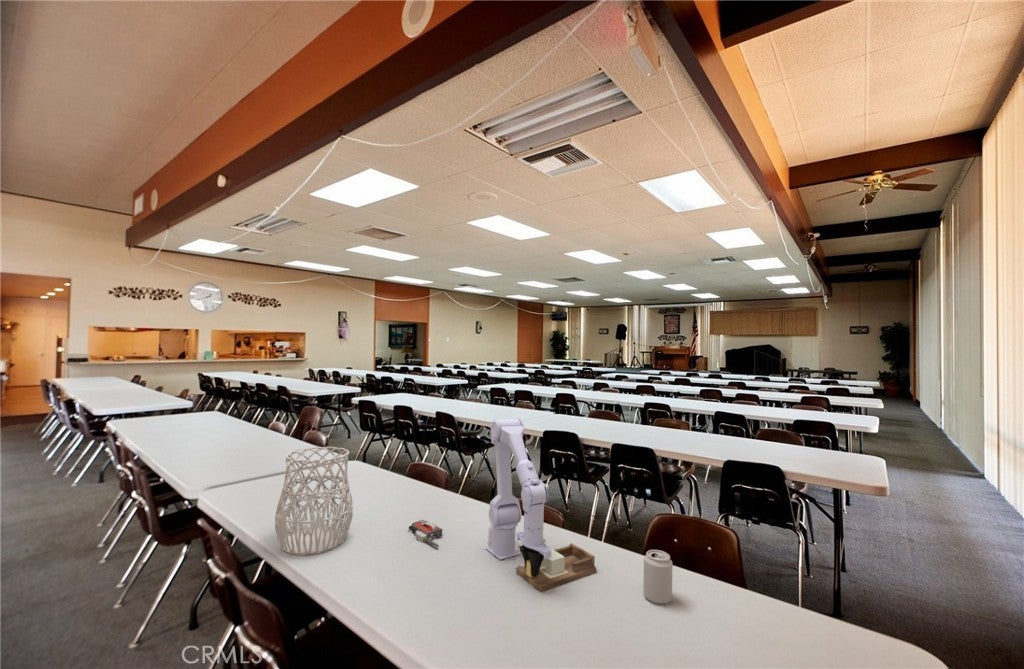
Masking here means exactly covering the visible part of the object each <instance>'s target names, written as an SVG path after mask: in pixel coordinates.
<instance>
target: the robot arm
mask: <svg viewBox="0 0 1024 669" xmlns="http://www.w3.org/2000/svg"><path fill="white" fill-rule="evenodd" d="M524 427H525V426H524V422H523V421H522V419H521V418H519V417H517V418H504V419H502V418H501V419H498V418H497V419H494V420H493V421H492V423H491V425H490V440H491V444H492V445H494V448H495V467H496V468H495V469H496V471H495V472H496V491H497V494H496V495H495V497H493V498H492V500H490V502H489V510H488V519H489V520H488V521H489V523H490V525H489V527H488V537H487V538H488V542H487V546H485V550H487V551H488V552H489V553H491V555H493V556H494V557H496V558H498V560H501V561H502V560H505V559H509V558H512V557H516V556H519V555H522V559H523V562H524V566H525V568H526V567H527V560H530V565H531V575H532V576H536V575H538V574H539V570H540V567H541V564H542V561H543V559H544V558H545V559H547V558H550V557H551V550H550V548H549V546H548V545H547V544H546V538H544V519H545V518H544V515H545V512H544V510H545V504H546V503H548V500H549V492H548V491H549V490H548V487H547V485H546V484H545V483H544V482H543V480H542V479H540V478H539V475H538V473H537V470H536V467H535V465H534V462H533V461H531V460H529V458H528V453H527V450H526V447H525V446H526V445H525V442H524V439H523V437H524V434H525V433H524V432H525V428H524ZM511 452H512V454H513V456H514V459H515V461H516V463H517V465H516V468H515V472H516V475H517V477H518V480H519V483H520V486H521V492H520V497H521V498H520V499H521V501H522V510H523V512H524V514H523V513H522V510H521V504H520V500H519V499H518V498H517V497H516V496H514V495H513V484H512V480H513V479H512V466H511V465H512V464H511ZM522 514H523V515H522ZM522 516H523V531H520V532H516V529H517V527H518V523H520V522H521V520H522ZM516 540H517V541H520V542H521V544H522V545H520V546H519V550H517V549H516Z"/></svg>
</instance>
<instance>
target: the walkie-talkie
mask: <svg viewBox="0 0 1024 669" xmlns="http://www.w3.org/2000/svg"><path fill="white" fill-rule="evenodd" d="M408 529H409V530H410V531H412V532H411V533H413V534H414V533H415V534H414V535H415V539H416V540H417V541H420V542H421V543H427V544H429V545H431V546H435V547H436V548H439V547H440V545H439V544H438V543H437V542H434V541H433V540H436V539H438V538H441V537H443V528H441V527H439V526H438V525H436V524H435V523H433V522H431V521H427V520H426V519H425V520H424V519H421V520H418V521H414V522H412V523H411V525H409V526H408Z"/></svg>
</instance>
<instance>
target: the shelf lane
mask: <svg viewBox="0 0 1024 669" xmlns="http://www.w3.org/2000/svg"><path fill="white" fill-rule="evenodd" d="M553 550H554V551H556V552H558V553H559V554H561V555H562V556H564V557H565V569H564V571H562V572H559V573H556V574H553V575H551V574H549V573H548V572H547V571H545V570H544V569H542V570H539V575H536V576H533V577H529V576H528V575H526V568H525V565H522V566H518V567H516V568H515V570H516V571H515V573H516V575H518V576H519V577H521V578H522V579H523V580H524V581H525V582H527V583H528V584H529V585H531V586H532V587H533V588H535V589H536V590H537V591H538V592H540V593H543V592H545V591H548V590H550V589H554V588H556V587H559V586H561V585H564V584H567V583H570V582H573V581H576V580H578V579H582V578H584V577H587V576H590V575H592V574H595V573H597V566H595V562H596V561H595V557H596V556H595V555H593V554H591V552H590V553H589V552H588V551H587V550H584V549H583V548H581V547H579V546H577V545H576V544H574V543H572V542H571V543H569V545H567V546H563V547H559V548H557V549H553Z"/></svg>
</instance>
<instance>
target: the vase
mask: <svg viewBox="0 0 1024 669" xmlns="http://www.w3.org/2000/svg"><path fill="white" fill-rule="evenodd" d="M329 449H330V450H329ZM322 450H324V451H327V452H325V453H324V454H323V455H322V454H321V453H320V451H322ZM307 451H310V452H312V453H311V454H310V455H309V456H307V455H305V454H304V453H306V452H307ZM333 451H338V452H339V453H338V454H337V455H336V454H335V453H334V452H333ZM294 454H298V455H297V457H296V458H294V457H293V456H294ZM315 454H316V455H318V456H319V457H320V458H319V459H311V457H312V456H313V455H315ZM329 454H331V456H333V457H330V458H329V459H328V458H326V456H327V455H329ZM349 454H350V451H349V449H346V448H344V447H336V446H323V447H322V446H316V447H307V448H298V449H296V450H294V451H290V452H287V453H286V454H285V464H286V466H285V474H284V482H283V486H282V490H281V494H280V497H279V500H278V503H277V506H276V511H275V515H274V529H275V532H276V533H275V534H276V538H277V541H278V543H279V545H280V549H281V550H282V551H283V552H285V553H286V554H289V555H296V556H297V555H298V556H308V555H317V554H321V553H325V552H327V550H328V551H331V550H333V548H334V549H336V548H337V547H338V545H339V546H340V545H342V544H344V542H345V539H346V537H347V535H348V532H349V530H350V526H351V523H352V520H353V515H354V514H353V512H354V503H353V502H354V501H353V496H352V493H351V489H350V484H349V482H350V481H349V476H348V475H349V474H348V463H349ZM301 456H302V457H303V458H305V459H299V458H300V457H301ZM342 459H343V461H342V462H341V463H340V460H342ZM329 462H330V463H329ZM299 464H300V465H299ZM310 464H311V465H312V468H310V467H309V466H308V465H310ZM325 464H326V465H327V466H326V465H325ZM295 465H296V466H295ZM335 465H337V466H338V467H339V468H338V470H336V471H337V472H336V474H335V473H334V471H333V470H332V467H334V466H335ZM343 465H344V467H343ZM303 467H305V468H306V469H308V470H309V471H310V472H309V473H308V474H307V475H306V476H305V473H304V472H303ZM319 467H322V468H324V470H325V471H324V473H323V474H321V473H320V472H319V470H318V468H319ZM343 468H344V469H343ZM293 469H294V470H295V472H294V473H293V475H292V472H293ZM340 472H341V476H340ZM327 473H329V475H328V474H327ZM312 474H313V475H312ZM297 477H299V478H297ZM313 481H314V482H316V485H315V487H314V489H313V490H312V488H310V486H309V484H310V483H312V482H313ZM328 481H330V482H331V485H330V487H328V486H327V485H326V484H325V483H326V482H328ZM340 483H341V485H340ZM298 484H300V485H299V487H298V488H297V489H296V490H297V491H296V492H295V490H294V488H295V487H296V486H297V485H298ZM304 489H305V492H304ZM321 489H322V490H323V491H320V490H321ZM336 495H338V496H336ZM318 499H319V500H320V499H322V500H324V501H323V502H322V503H321V502H320V501H319V500H318ZM287 500H289V501H290V502H287ZM336 500H339V503H337V501H336ZM303 501H304V502H306V503H305V504H304V505H302V504H301V502H303ZM329 508H330V510H329ZM308 512H309V518H310V519H309V520H308ZM315 512H316V515H315ZM321 513H322V515H321ZM302 514H303V515H302ZM331 515H332V516H331ZM291 517H292V519H291ZM330 520H331V523H330ZM325 522H326V523H325ZM308 524H310V527H309V528H308V526H307V525H308ZM329 524H330V525H329ZM337 525H338V526H337ZM288 526H289V527H288ZM298 527H299V530H298ZM341 543H342V544H341ZM335 547H336V548H335ZM330 549H331V550H330ZM324 551H325V552H324Z"/></svg>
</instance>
